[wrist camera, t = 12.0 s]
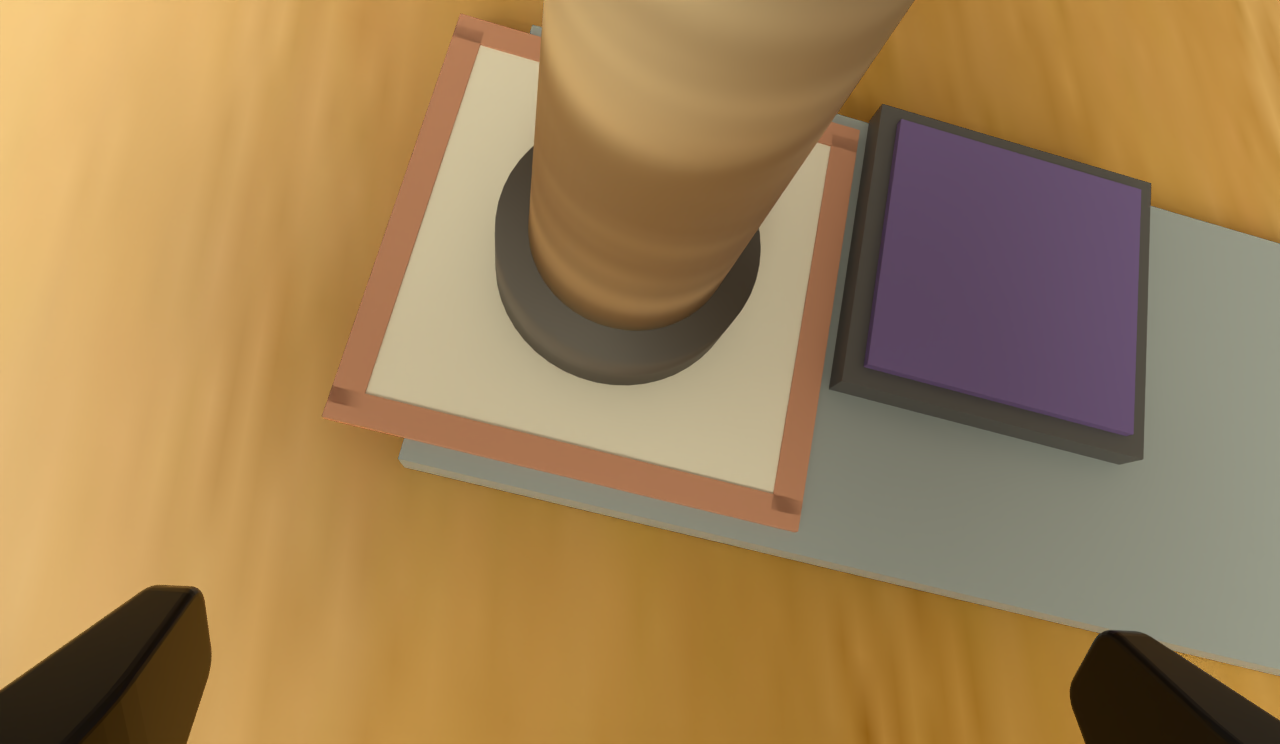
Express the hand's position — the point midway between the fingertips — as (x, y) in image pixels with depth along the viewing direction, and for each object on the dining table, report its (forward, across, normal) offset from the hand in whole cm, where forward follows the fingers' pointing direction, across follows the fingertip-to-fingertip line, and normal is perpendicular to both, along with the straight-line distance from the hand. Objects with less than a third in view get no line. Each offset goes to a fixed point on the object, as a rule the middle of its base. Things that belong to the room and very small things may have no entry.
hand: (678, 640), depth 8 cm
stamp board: (+10, -8, +2) cm, 13 cm away
